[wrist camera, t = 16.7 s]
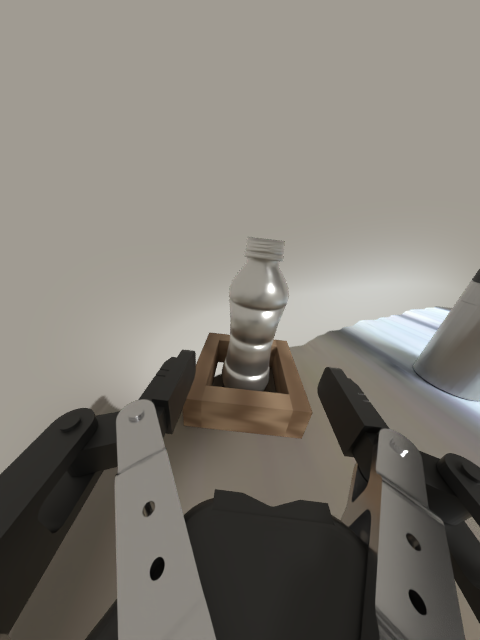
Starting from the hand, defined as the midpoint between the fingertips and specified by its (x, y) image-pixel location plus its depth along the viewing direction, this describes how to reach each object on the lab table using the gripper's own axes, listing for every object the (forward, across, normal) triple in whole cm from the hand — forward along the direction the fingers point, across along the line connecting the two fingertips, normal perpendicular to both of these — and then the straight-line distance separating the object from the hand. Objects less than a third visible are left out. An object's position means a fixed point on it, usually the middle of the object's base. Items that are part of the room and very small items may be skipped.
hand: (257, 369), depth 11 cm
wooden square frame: (+11, 0, +13) cm, 16 cm away
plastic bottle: (+10, 0, +13) cm, 16 cm away
